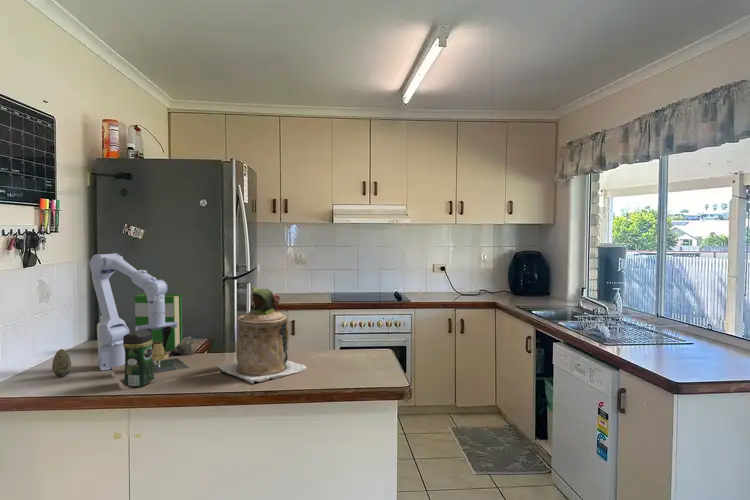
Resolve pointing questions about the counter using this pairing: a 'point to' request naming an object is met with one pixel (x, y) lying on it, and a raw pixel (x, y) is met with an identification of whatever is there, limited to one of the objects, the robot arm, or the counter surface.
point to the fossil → (185, 347)
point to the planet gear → (158, 351)
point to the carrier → (168, 365)
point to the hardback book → (171, 315)
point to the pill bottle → (99, 332)
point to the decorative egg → (61, 363)
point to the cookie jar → (262, 342)
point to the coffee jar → (138, 358)
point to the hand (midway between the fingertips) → (157, 348)
